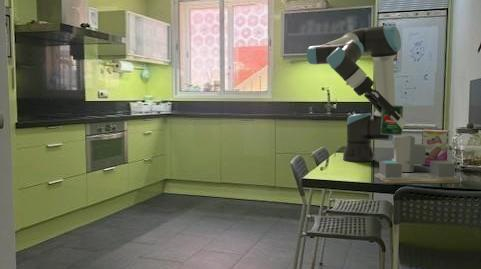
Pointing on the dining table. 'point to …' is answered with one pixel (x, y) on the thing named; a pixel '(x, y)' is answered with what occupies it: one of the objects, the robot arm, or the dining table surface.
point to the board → (422, 181)
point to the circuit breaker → (408, 152)
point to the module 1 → (390, 168)
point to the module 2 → (442, 168)
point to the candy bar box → (436, 145)
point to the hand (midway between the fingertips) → (400, 124)
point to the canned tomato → (391, 122)
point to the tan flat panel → (415, 176)
